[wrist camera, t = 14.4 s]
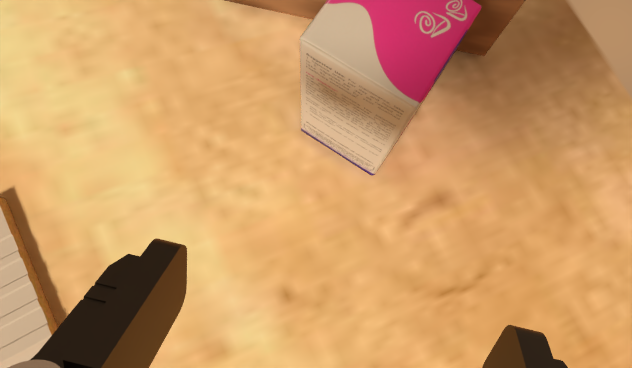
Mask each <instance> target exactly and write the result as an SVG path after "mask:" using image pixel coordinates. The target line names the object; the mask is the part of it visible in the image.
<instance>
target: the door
mask: <svg viewBox="0 0 632 368" xmlns="http://www.w3.org/2000/svg"><path fill="white" fill-rule="evenodd" d="M225 1H230V2H234V3H239V4H244V5H248V6H253V7H258V8H262V9H267V10H272V11H276V12H281V13H286V14H290V15H295V16H300V17H304V18H309V19H314V17H315V16H316V15H317V14H318V12H319V11H320V9H321V8H322V7H323V5H324V4H325V3H326V1H327V0H225ZM473 1H475V2H476V3H478V4H479V5H481V10H480V12H479V13H478V15H477V17H476V18H475V20H474V21H473V23H472V25H471V26H470V28H469V29H468V31H467V33H466V34H465V36H464V37H463V39H462V41H461V42H460V44H459V46H458V47H457V49H456V50H458V51H463V52H468V53H472V54H477V55H482V56H485V54H486V53H487V52H488V50H489V49H490V47H491V46H492V45H493V43H494V42H495V41H496V39H497V38H498V37H499V35H500V34H501V33H502V31H503V30H504V28H505V27H506V26H507V24H508V23H509V22H510V20H511V19H512V18H513V16H514V15H515V14H516V12H517V11H518V10H519V8H520V7H521V5H522V4H523V3H524V1H525V0H473Z"/></svg>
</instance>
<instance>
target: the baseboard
mask: <svg viewBox="0 0 632 368" xmlns="http://www.w3.org/2000/svg"><path fill="white" fill-rule="evenodd" d="M57 329H58V327H57V324H56V322H55V320H54V317H53V315H52V312H51V310H50V307H49V305H48V302H47V300H46V297H45V295H44V292H43V290H42V287H41V285H40V283H39V280H38V278H37V275H36V273H35V270H34V268H33V265H32V263H31V260H30V258H29V255H28V253H27V250H26V248H25V245H24V243H23V241H22V238H21V236H20V233H19V231H18V228H17V226H16V223H15V221H14V218H13V216H12V213H11V211H10V208H9V206H8V203H7V201H6V199H4V198H1V197H0V368H8V367H10V366H12V365H15V364H17V363H20V362H24V361H28V360H30V359H32V358H33V357H34V356H35V355H36V354H37V353H38V352H39V350H40V349H41V348H42V347H43V346H44V344H45V343H46V342H47V341H48V339H49V338H50V337H51V336H52V335H53V333H54V332H55V331H56V330H57Z"/></svg>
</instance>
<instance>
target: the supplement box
mask: <svg viewBox="0 0 632 368" xmlns="http://www.w3.org/2000/svg"><path fill="white" fill-rule="evenodd" d="M480 10H481V5H479V4H478V3H476V2H475V1H473V0H327V1H326V3H325V4H324V5H323V7H322V8H321V9H320V11H319V12H318V14H317V15H316V16H315V17H314V19H313V20H312V22H311V23H310V24H309V26H308V27H307V28H306V30H305V31H304V33H303V34H302V36H301V37H300V69H301V71H300V74H301V75H300V78H301V131H303V132H304V133H306V134H307V135H309V136H310V137H312V138H314V139H315V140H317V141H318V142H320V143H322V144H323V145H325V146H326V147H328V148H329V149H331V150H333V151H334V152H336V153H337V154H339V155H340V156H342V157H343V158H345V159H346V160H348V161H349V162H351V163H352V164H354V165H356V166H357V167H359V168H360V169H362V170H364V171H365V172H367V173H368V174H370V175H375V173H376V172H377V170H378V169H379V168H380V166H381V165H382V163H383V162H384V160H385V159H386V157H387V156H388V154H389V153H390V151H391V150H392V148H393V147H394V145H395V144H396V142H397V141H398V139H399V138H400V136H401V135H402V133H403V131H404V130H405V128H406V127H407V125H408V124H409V122H410V121H411V119H412V118H413V116H414V114H415V113H416V111H417V110H418V108H419V107H420V105H421V104H422V102H423V101H424V99H425V98H426V96H427V95H428V93H429V91H430V90H431V88H432V87H433V85H434V84H435V82H436V80H437V79H438V77H439V76H440V74H441V73H442V71H443V70H444V68H445V66H446V65H447V63H448V62H449V60H450V58H451V57H452V55H453V54H454V52H455V50H456V49H457V47H458V46H459V44H460V42H461V41H462V39H463V37H464V36H465V34H466V33H467V31H468V29H469V28H470V26H471V25H472V23H473V21H474V20H475V18H476V17H477V15H478V13H479V12H480Z"/></svg>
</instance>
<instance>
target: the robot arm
mask: <svg viewBox="0 0 632 368" xmlns="http://www.w3.org/2000/svg"><path fill="white" fill-rule="evenodd" d="M186 284H187V248H186V246H185V245H182V244H177V243H173V242H169V241H165V240H161V239H154V240H153V241H152V242H151V243H150V244H149V246H148V247H147V248H146V250H145V251H144V252H143V254H142V255H141V256H135V255H131V254H128V255H126V256H124V257H123V258H121V259H119V260H118V261H116V262H115V263H113V264H111V265H110V266H108V268H107V269H106V270H105V271H104V273H103V274H102V275H101V276H100V277H99V279H98V280H97V281H96V282H95V285H94V286H92V287H91V288H90V290H89V291H88V292H87V293H86V294H85V296H84V299H83V300H81V301H80V302H79V303H78V304H77V305H76V307H75V308H74V309H73V310H72V312H71V313H70V314H69V315H68V316H67V318H66V319H65V320H64V321H63V322H62V324H61V325H60V326H59V327H58V329H57V330H56V331H55V332H54V333H53V335H52V336H51V337H50V338H49V339H48V341H47V342H46V343H45V344H44V346H43V347H42V348H41V349H40V350H39V352H38V353H37V354H36V355H35V356H34V357H33V358H32V359H30V360H28V361H24V362H20V363H17V364H15V365H12V366H10V367H8V368H149V366H150V365H151V363H152V361H153V359H154V357H155V356H156V354H157V352H158V350H159V348H160V346H161V345H162V343H163V341H164V339H165V337H166V336H167V334H168V332H169V330H170V328H171V327H172V325H173V323H174V321H175V319H176V318H177V316H178V314H179V312H180V310H181V307H182V305H183V302H184V299H185V294H186ZM482 368H568V367H567V366H566V365H565V363H564V362H563V361H561V360H557V359H553V356H552V353H551V350H550V347H549V344H548V341H547V339H546V337H545V335H544V334H543V333H541V332H537V331H533V330H529V329H525V328H520V327H516V326H512V325H508V326H507V327H506V328H505V329H504V330H503V332H502V334H501V335H500V337H499V339H498V340H497V342H496V344H495V345H494V347H493V349H492V350H491V352H490V354H489V355H488V357H487V359H486V360H485V362H484V364H483V367H482Z"/></svg>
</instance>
